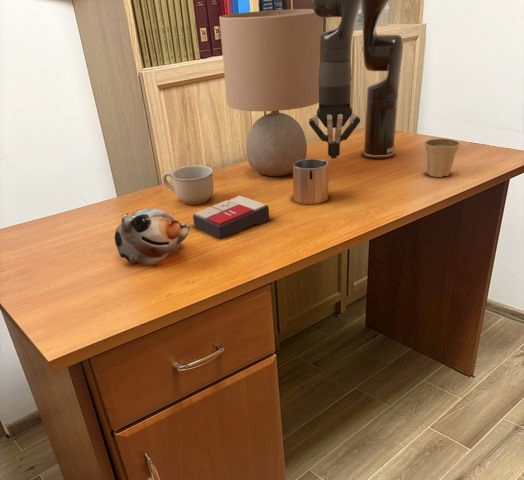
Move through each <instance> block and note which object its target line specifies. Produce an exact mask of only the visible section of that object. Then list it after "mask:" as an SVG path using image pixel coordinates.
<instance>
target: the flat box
mask: <svg viewBox="0 0 524 480" xmlns="http://www.w3.org/2000/svg"><path fill="white" fill-rule="evenodd" d="M192 219H193V224H194V225H193V226H194V227H195V228H197V229H198V230H201V231H203V232H206V233H207V234H209V235H213V236H214V237H217V238H218V239H224V238H226V237H228V236H231V235H233V234H236V233H237V232H240V231H242V230H245V229H247V228H249V227H251V226H254V225H258V226H259V225H261V224H263V223H266V222H267V221H268V222H269V221H270V208H269V205H267V204H266V203H263V202H260V201H257V200H254V199H250V198H248V197H245V196H243V195H238V196H235V197H233V198H230V199H226V200H224V201H221V202H219V203H216V204H214V205H212V206H209V207H205V208H203V209H200V210H198V211H195V213H194V214H193V215H192Z"/></svg>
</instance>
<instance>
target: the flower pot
mask: <svg viewBox="0 0 524 480" xmlns="http://www.w3.org/2000/svg"><path fill="white" fill-rule="evenodd" d="M424 146H425V149H426V175H429V176H430V177H435V178H443V177H448V176H450V174H451V171H452V167H453V164H454V161H455V158H456V154H457V151H458V149H459V147H460V146H461V142H460V141H459V140H457V139H452V138H431V139H427V140H425V141H424Z"/></svg>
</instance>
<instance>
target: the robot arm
mask: <svg viewBox="0 0 524 480" xmlns="http://www.w3.org/2000/svg"><path fill="white" fill-rule="evenodd" d="M389 1H390V0H311V6H312V9H313V10H314V12H315V14H316V15H317V16H319V17H322V18H323V19H327V18H330V19H331V18H340V22H339V24H338V26H337V27H336V28H333V29H329V30H326V31H323V34H322V35H321V39H320V68H319V103H318V108H317V110H316V113H315V114H316V115H314V116H313V117H312V118H311V117H310V118H309V119H308V124H309V126H310V128H311V129H312V130H313V132H314V133H315V134H316V135H317V137H318V138H319V139H320V141H322V142H326V143H327V155H328V157H330V159H332V160H333V159H338V157H339V156H340V154H341V153H340V152H341V148H340V147H341V142H343V141H347V140H348V138H350V136H351V135H352V134H353V132H354V131H355V129H356V128H357V127H358V126H359V124H360V123H361V118H360V116H358V115H356V114H354V113H353V109H352V105H351V101H352V100H351V98H352V97H351V96H352V80H353V77H352V74H353V73H352V71H353V70H352V40H353V34H354V30H355V24H356V22H357V18H358V13H359V10H361V23H362V25H361V26H362V59H363V65H364V67H365V69H366V70H367V71H369V72H387V73H386V77H385V78H384V79H382V80H380V81H378V82H376V83H373V84H370V85H369V86H368V87H367V88H366V103H365V104H366V107H365V126H364V129H365V130H364V146H363V157H365V158H367V159H368V158H369V159H374V160H376V159H378V160H380V159H381V160H383V159H388V158H391V157H393V156H394V155H395V139H396V127H397V115H398V101H399V90H400V83H401V82H400V80H401V73H402V71H401V70H402V63H403V56H404V40H403V37H402V35H400V34H378V33H377V25H378V22H379V20H380V18H381V16H382V14H383V11H384V10H385V8H386V7H387V5H388V3H389ZM348 121H349V124H348V126H347V127H346V128H345V130H344V131H343V132H342V128H343V127H345V125H346V123H347V122H348ZM320 122H321V124H322V125H323V127H324V128H326V131H327V134H325V133H324V131H323V130H322V128H321V127H320V126H319V125H320ZM334 131H335V132H334Z"/></svg>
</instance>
